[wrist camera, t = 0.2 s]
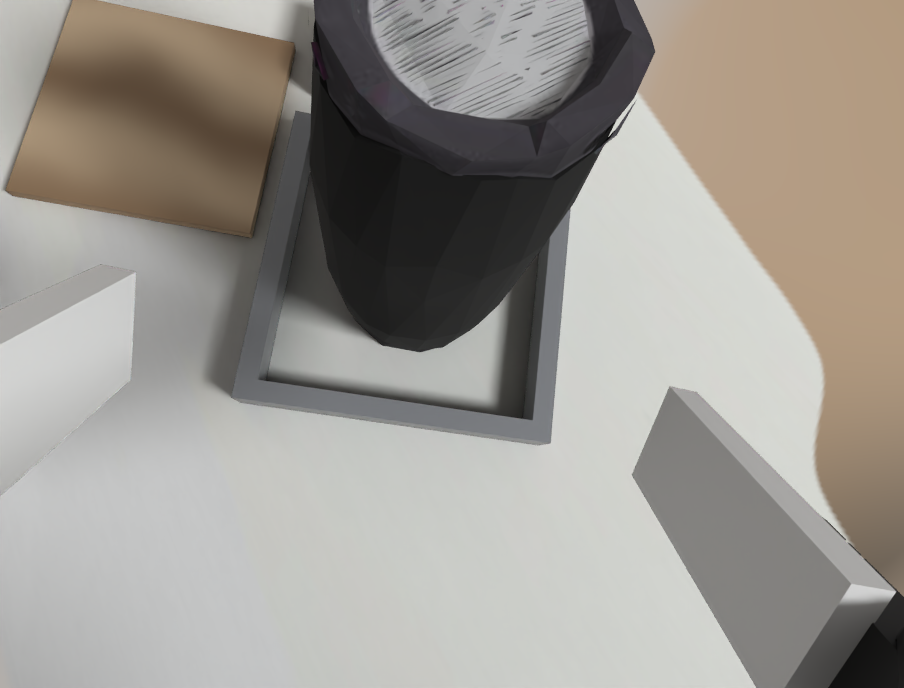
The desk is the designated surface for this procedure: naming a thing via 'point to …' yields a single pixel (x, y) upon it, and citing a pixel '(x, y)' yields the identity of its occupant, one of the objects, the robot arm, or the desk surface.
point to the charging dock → (334, 403)
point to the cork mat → (155, 119)
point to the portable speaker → (457, 145)
